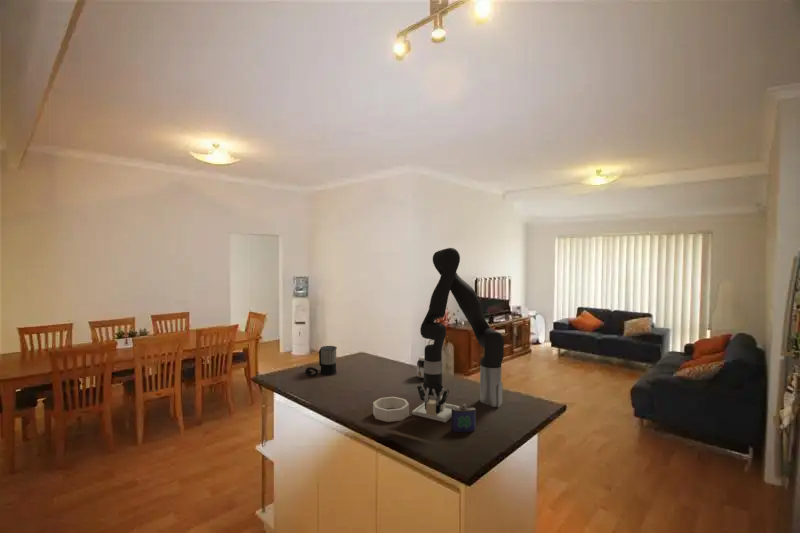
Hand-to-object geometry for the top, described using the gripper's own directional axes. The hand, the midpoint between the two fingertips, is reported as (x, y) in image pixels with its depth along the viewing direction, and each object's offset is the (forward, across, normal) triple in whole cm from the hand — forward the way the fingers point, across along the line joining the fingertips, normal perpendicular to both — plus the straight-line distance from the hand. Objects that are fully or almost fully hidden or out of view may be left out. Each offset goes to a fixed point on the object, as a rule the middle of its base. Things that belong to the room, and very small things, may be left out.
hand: (432, 411), depth 153 cm
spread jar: (+2, +24, -44) cm, 51 cm away
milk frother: (+2, +79, -19) cm, 81 cm away
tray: (+2, 0, -4) cm, 4 cm away
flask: (+2, -16, +6) cm, 17 cm away
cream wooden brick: (+1, 0, 0) cm, 1 cm away
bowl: (+2, +15, +8) cm, 17 cm away
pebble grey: (+1, 0, -7) cm, 7 cm away
